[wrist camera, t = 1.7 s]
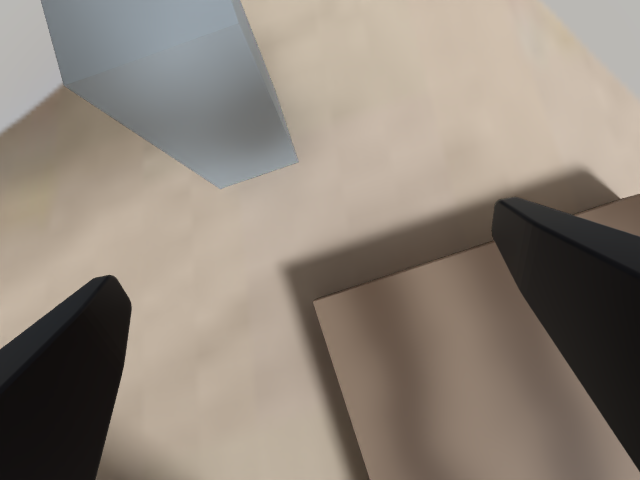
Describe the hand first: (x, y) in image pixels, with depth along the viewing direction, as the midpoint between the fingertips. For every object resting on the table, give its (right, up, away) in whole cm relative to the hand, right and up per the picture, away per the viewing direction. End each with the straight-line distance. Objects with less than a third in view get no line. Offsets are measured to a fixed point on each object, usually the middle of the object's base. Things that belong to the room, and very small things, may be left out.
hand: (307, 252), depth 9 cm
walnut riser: (+11, -7, +12) cm, 18 cm away
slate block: (-4, +7, +14) cm, 16 cm away
